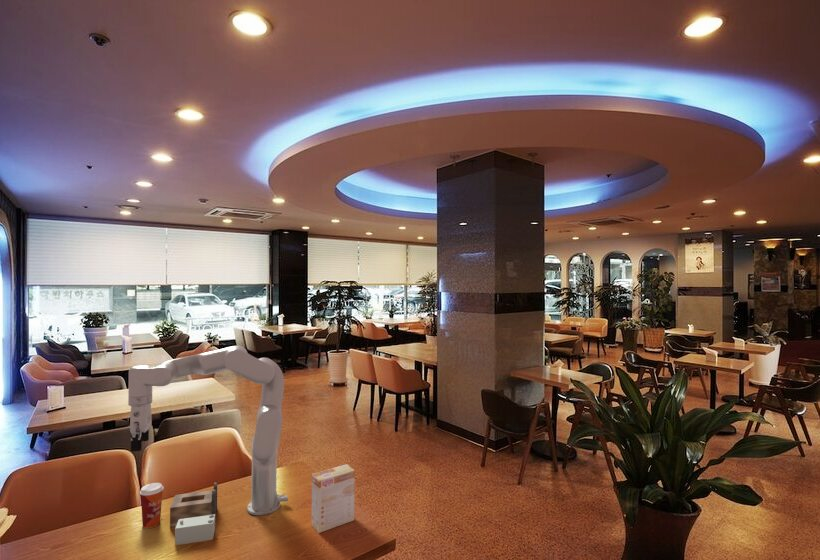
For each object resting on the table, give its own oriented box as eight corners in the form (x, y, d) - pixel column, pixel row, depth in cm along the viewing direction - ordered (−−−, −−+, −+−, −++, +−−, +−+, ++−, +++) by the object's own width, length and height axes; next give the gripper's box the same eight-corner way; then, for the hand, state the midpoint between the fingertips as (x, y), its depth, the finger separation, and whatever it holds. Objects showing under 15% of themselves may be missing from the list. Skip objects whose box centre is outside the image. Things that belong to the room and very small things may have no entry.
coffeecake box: (346, 512, 173) (346, 463, 173) (354, 520, 167) (355, 470, 167) (310, 524, 164) (311, 473, 164) (318, 533, 158) (319, 480, 158)
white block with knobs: (214, 530, 160) (215, 512, 160) (212, 540, 154) (213, 520, 154) (178, 535, 156) (178, 517, 156) (174, 545, 151) (175, 526, 151)
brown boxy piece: (217, 506, 176) (217, 480, 176) (214, 519, 166) (214, 492, 166) (175, 512, 171) (175, 486, 171) (169, 526, 162) (170, 498, 162)
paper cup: (152, 531, 159) (152, 492, 159) (134, 528, 160) (134, 490, 160) (168, 519, 166) (168, 482, 166) (150, 517, 168) (151, 480, 168)
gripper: (145, 405, 154) (145, 453, 154) (157, 392, 170) (157, 436, 170) (121, 407, 152) (120, 456, 152) (135, 394, 168) (135, 438, 168)
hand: (140, 445), depth 161 cm, fingers open, 9 cm apart
